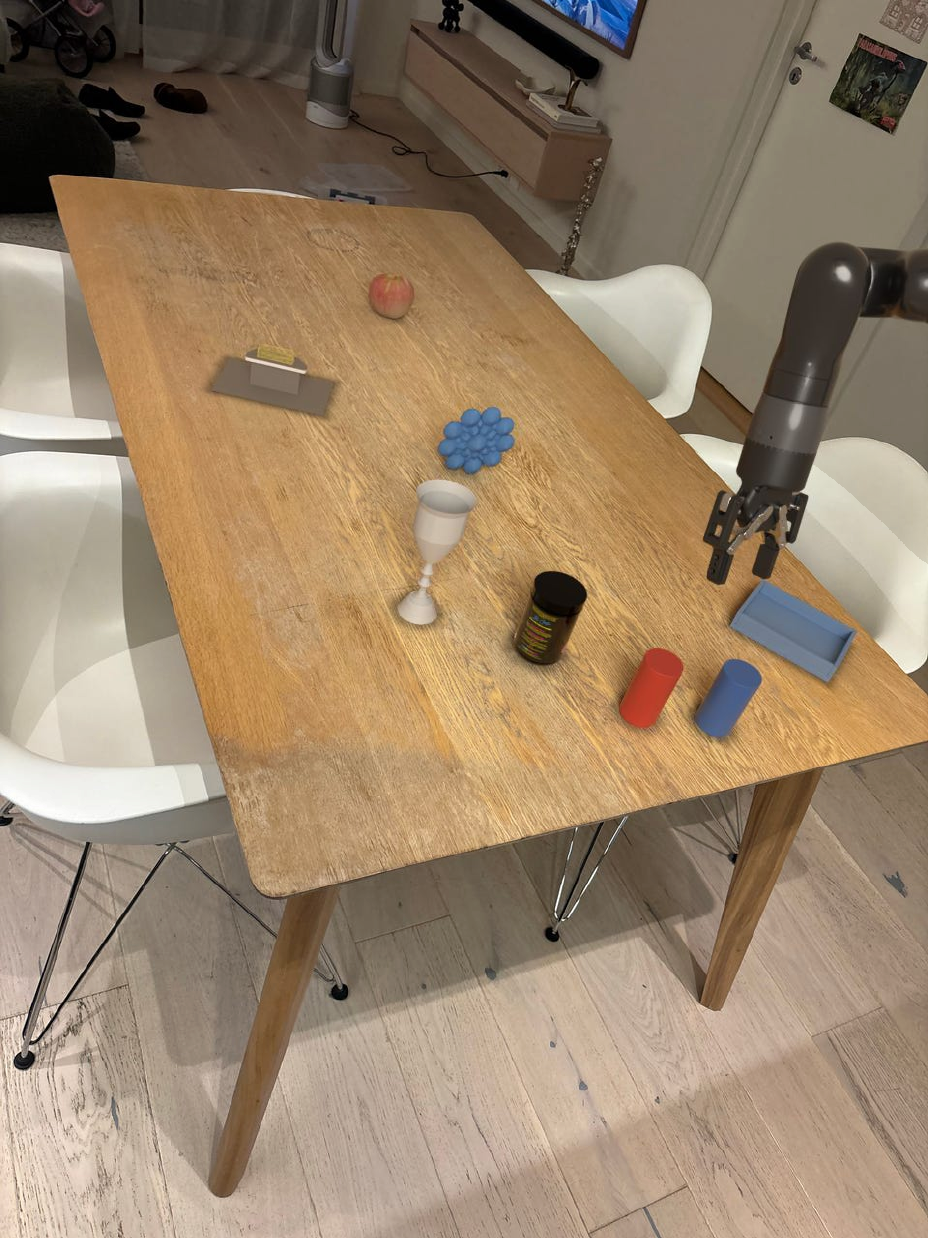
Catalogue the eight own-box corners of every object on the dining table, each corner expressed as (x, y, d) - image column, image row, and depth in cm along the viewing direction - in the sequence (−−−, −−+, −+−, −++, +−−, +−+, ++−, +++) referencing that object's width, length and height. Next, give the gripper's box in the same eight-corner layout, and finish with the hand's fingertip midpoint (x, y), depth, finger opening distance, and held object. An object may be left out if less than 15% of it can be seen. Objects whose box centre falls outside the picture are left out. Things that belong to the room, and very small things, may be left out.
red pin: (662, 713, 114) (690, 662, 108) (646, 734, 111) (674, 682, 105) (629, 693, 115) (654, 641, 110) (612, 712, 112) (638, 660, 106)
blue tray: (848, 645, 134) (857, 631, 132) (827, 682, 126) (837, 668, 125) (754, 592, 139) (762, 578, 137) (729, 626, 131) (737, 611, 129)
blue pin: (736, 723, 116) (767, 673, 110) (723, 743, 112) (754, 693, 107) (702, 702, 117) (731, 652, 112) (688, 722, 114) (717, 672, 108)
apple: (397, 328, 180) (405, 289, 174) (357, 312, 181) (364, 272, 176) (416, 316, 186) (424, 277, 181) (378, 300, 188) (384, 261, 182)
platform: (229, 358, 156) (232, 321, 152) (334, 382, 158) (339, 347, 154) (211, 390, 147) (213, 352, 142) (322, 416, 149) (327, 379, 144)
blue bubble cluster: (500, 463, 150) (519, 398, 143) (505, 486, 145) (525, 420, 138) (430, 453, 148) (446, 386, 140) (433, 476, 143) (450, 408, 135)
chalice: (397, 630, 114) (425, 514, 103) (383, 594, 119) (409, 479, 107) (451, 627, 117) (485, 513, 105) (436, 592, 122) (466, 479, 110)
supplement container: (559, 675, 115) (584, 613, 108) (507, 659, 115) (530, 596, 108) (564, 641, 120) (589, 580, 114) (515, 626, 120) (537, 564, 114)
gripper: (772, 450, 92) (725, 598, 98) (848, 451, 100) (801, 587, 107) (713, 430, 97) (673, 571, 103) (791, 432, 106) (749, 563, 112)
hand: (738, 579), depth 105 cm, fingers open, 8 cm apart
